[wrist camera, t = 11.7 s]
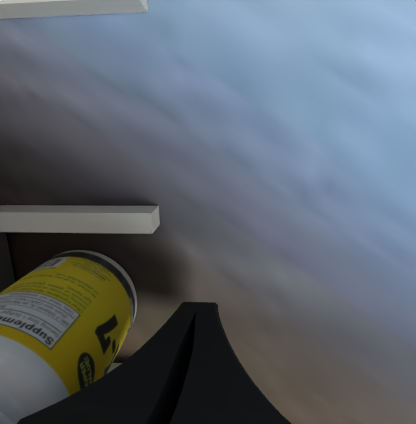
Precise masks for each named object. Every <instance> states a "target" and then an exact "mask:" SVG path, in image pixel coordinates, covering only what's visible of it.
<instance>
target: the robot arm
mask: <svg viewBox="0 0 416 424" xmlns="http://www.w3.org/2000/svg"><path fill="white" fill-rule="evenodd" d="M17 424H291V423H290V422H289V421H288V420H287V419H286V418H284V417H283V416H282V415H281V414H280V412H279V411H278V410H277V409H276V408H275V407H274V406H273V405H272V404H271V403H270V402H269V401H268V399H267V398H266V397H265V396H264V395H263V393H262V392H261V391H260V390H259V388H258V387H257V386H256V385H255V384H254V382H253V381H252V380H251V378H250V377H249V375H248V374H247V373H246V371H245V370H244V368H243V366H242V365H241V363H240V362H239V360H238V358H237V357H236V355H235V353H234V351H233V349H232V347H231V345H230V343H229V341H228V339H227V337H226V334H225V332H224V329H223V327H222V324H221V321H220V317H219V313H218V305H217V304H216V303H208V302H183V303H182V304H181V305H180V306H179V308H178V309H177V310H176V311H175V312H174V314H173V315H172V316H171V317H170V318H169V319H168V321H167V322H166V323H165V324H164V325H163V326H162V327H161V328H160V329H159V330H158V332H157V333H156V334H155V335H154V336H153V337H152V338H151V339H149V340H148V341H147V342H146V343H145V344H144V345H143V346H142V347H141V348H140V349H139V350H138V351H137V352H136V353H134V354H133V355H132V356H131V357H129V358H128V359H127V360H126V361H124V362H123V363H122V364H120V365H119V366H118V367H116V368H115V369H113V370H112V371H110V372H109V373H107V374H106V375H104V376H103V377H101V378H100V379H98V380H97V381H95V382H93V383H92V384H90V385H88V386H87V387H85V388H83V389H82V390H80V391H78V392H76V393H74V394H72V395H71V396H69V397H67V398H65V399H63V400H61V401H59V402H57V403H55V404H53V405H51V406H48V407H46V408H44V409H42V410H40V411H38V412H35V413H33V414H31V415H29V416H26V417H24V418H22V419H20V420H19V421H18V423H17Z"/></svg>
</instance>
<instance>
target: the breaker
mask: <svg viewBox="0 0 416 424" xmlns="http://www.w3.org/2000/svg"><path fill="white" fill-rule="evenodd" d="M14 283H15V278H14V273H13V267H12V262H11V257H10V252H9V247H8V242H7V236H6V232H0V293H1V292H2V291H4V290H5V289H6V288H8V287H9V286H11V285H12V284H14Z"/></svg>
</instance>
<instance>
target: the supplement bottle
mask: <svg viewBox="0 0 416 424" xmlns="http://www.w3.org/2000/svg"><path fill="white" fill-rule="evenodd" d="M136 310H137V297H136V291H135V288H134V285H133V282H132V280H131V279H130V277H129V276H128V274H127V273H126V271H125V270H124V269H123V268H122V267H121V266H120V265H119V264H118V263H116V262H115V261H114V260H112V259H110V258H109V257H107V256H105V255H103V254H100V253H97V252H93V251H88V250H70V251H66V252H63V253H60V254H58V255H56V256H54V257H52V258H51V259H49V260H47V261H46V262H44V263H43V264H41V265H40V266H39V267H37V268H36V269H34V270H33V271H31V272H30V273H28V274H27V275H25V276H24V277H22V278H21V279H20V280H18V281H17V282H15V283H14V284H12V285H11V286H9V287H8V288H6V289H5V290H4V291H2V292H1V293H0V424H17V423H18V421H19V420H20V419H22V418H24V417H26V416H29V415H31V414H33V413H35V412H38V411H40V410H42V409H44V408H46V407H48V406H51V405H53V404H55V403H57V402H59V401H61V400H63V399H65V398H67V397H69V396H71V395H72V394H74V393H76V392H78V391H80V390H82V389H83V388H85V387H87V386H88V385H90V384H92V383H93V382H95V381H97V380H98V379H100V378H101V377H103V376H104V375H106V374H107V372H108V370H109V368H110V366H111V364H112V363H113V361H114V359H115V357H116V355H117V353H118V351H119V349H120V347H121V345H122V343H123V341H124V340H125V338H126V336H127V334H128V332H129V330H130V328H131V326H132V324H133V321H134V319H135V315H136Z"/></svg>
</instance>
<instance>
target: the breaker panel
mask: <svg viewBox="0 0 416 424" xmlns="http://www.w3.org/2000/svg"><path fill="white" fill-rule="evenodd" d="M139 12H148V6H147V0H0V19H8V18H30V17H51V16H73V15H95V14H117V13H139ZM159 225H160V219H159V206H85V205H0V232H45V233H127V234H153V233H154V231H155V230H156V229H157V227H158V226H159ZM120 364H122V363H112V364H111V366H110V368H109V370H108V372H107V373H109V372H110V371H112V370H113V369H115V368H116V367H118V366H119V365H120Z"/></svg>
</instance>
